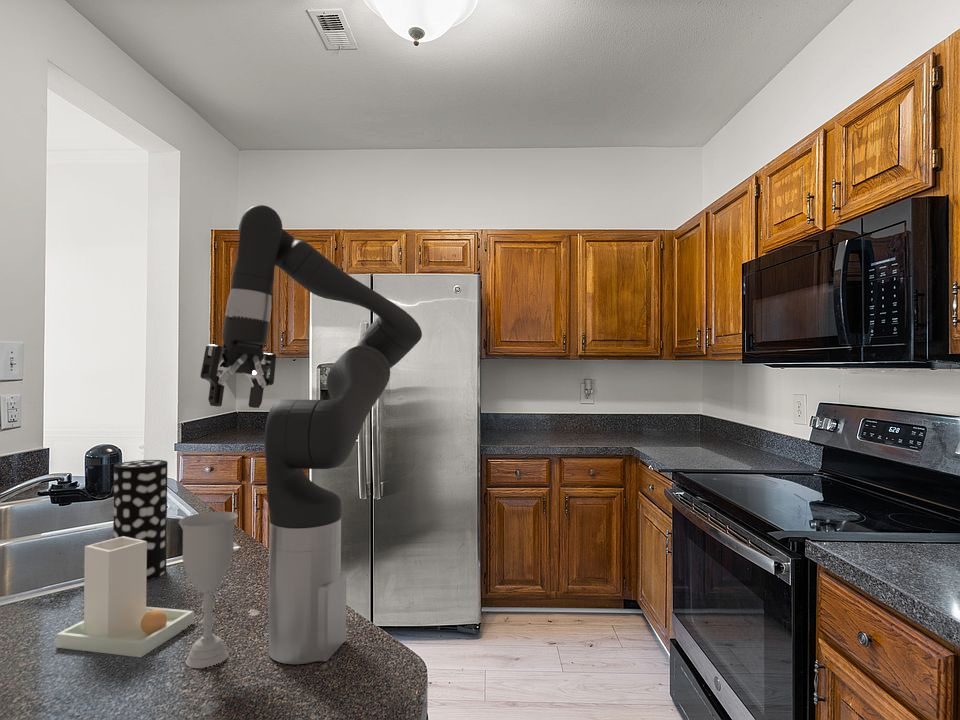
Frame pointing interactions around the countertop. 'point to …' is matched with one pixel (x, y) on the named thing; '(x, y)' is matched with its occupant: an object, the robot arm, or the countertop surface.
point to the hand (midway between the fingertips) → (235, 406)
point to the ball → (153, 621)
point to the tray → (126, 636)
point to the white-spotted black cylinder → (143, 508)
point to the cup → (114, 586)
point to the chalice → (207, 574)
